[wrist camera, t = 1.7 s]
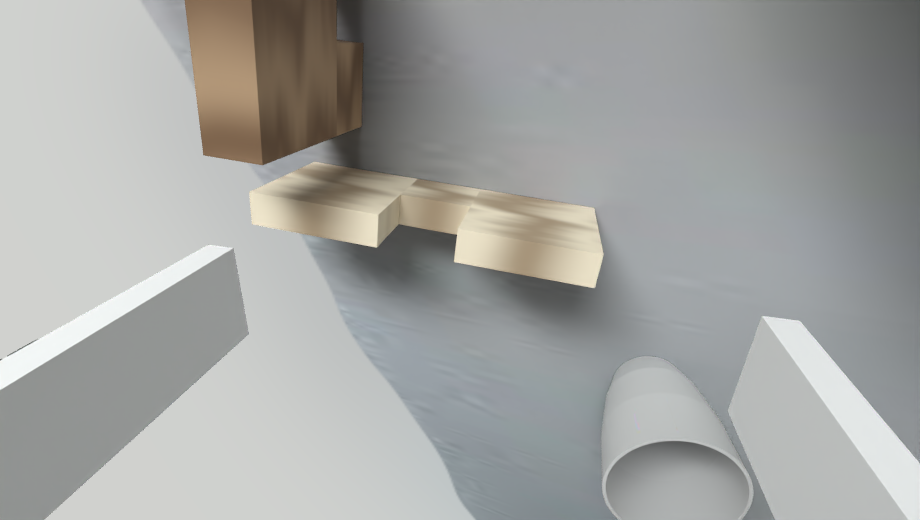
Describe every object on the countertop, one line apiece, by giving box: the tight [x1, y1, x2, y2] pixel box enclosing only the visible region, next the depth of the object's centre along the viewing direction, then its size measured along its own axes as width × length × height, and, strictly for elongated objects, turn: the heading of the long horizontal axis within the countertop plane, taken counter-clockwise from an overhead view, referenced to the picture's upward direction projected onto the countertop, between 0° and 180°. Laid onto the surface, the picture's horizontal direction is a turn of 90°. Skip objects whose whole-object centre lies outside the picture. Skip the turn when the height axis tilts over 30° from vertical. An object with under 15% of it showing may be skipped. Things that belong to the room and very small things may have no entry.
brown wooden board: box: [185, 0, 363, 165], centre depth 24 cm, size 14×3×12 cm, turn 173°
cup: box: [601, 356, 753, 520], centre depth 32 cm, size 8×8×10 cm
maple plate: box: [249, 162, 604, 288], centre depth 30 cm, size 20×2×8 cm, turn 83°
